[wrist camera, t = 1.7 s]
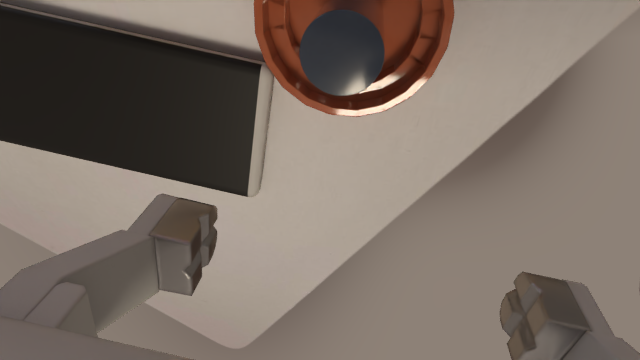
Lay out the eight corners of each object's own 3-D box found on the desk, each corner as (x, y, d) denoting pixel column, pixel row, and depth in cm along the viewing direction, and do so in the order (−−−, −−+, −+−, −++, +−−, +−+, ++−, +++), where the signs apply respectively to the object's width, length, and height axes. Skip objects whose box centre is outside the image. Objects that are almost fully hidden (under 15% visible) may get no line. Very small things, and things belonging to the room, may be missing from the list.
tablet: (261, 191, 40) (256, 201, 39) (0, 132, 40) (-14, 140, 39) (277, 62, 33) (272, 68, 31) (-41, -10, 33) (-61, -7, 32)
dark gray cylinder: (376, -26, 28) (374, -2, 19) (388, 37, 30) (392, 86, 21) (317, -9, 29) (287, 23, 20) (332, 51, 31) (312, 104, 22)
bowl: (431, -123, 25) (439, -130, 22) (454, 77, 32) (463, 95, 28) (242, -57, 28) (224, -55, 25) (297, 111, 35) (289, 131, 32)
